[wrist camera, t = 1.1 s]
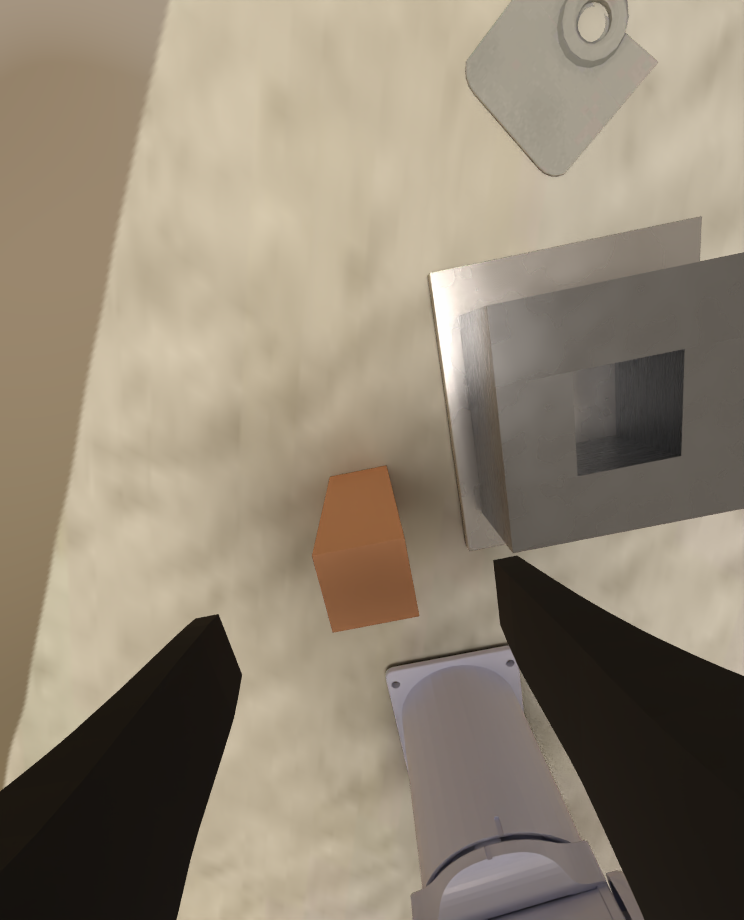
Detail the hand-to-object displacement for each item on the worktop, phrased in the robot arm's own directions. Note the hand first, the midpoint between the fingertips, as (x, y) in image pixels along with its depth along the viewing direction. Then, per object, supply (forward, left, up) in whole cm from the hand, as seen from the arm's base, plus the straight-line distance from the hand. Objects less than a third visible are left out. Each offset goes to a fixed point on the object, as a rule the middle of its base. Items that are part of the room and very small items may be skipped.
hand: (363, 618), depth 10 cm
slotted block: (+2, -11, -11) cm, 15 cm away
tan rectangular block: (-1, 0, -11) cm, 11 cm away
